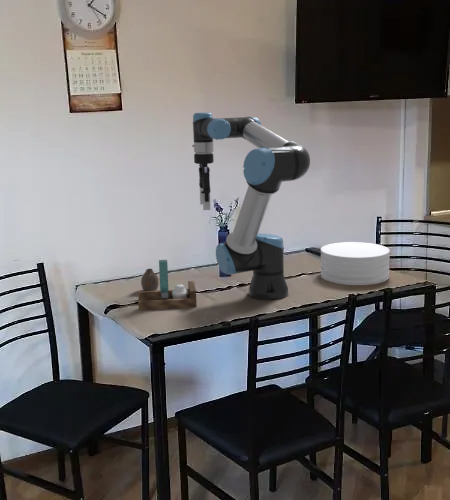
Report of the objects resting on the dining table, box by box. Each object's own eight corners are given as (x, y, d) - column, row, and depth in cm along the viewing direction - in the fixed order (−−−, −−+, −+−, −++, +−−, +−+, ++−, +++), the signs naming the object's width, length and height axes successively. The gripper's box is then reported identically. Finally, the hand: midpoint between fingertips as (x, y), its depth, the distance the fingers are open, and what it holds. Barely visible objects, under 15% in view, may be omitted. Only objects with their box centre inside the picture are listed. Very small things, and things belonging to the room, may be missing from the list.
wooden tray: (193, 296, 265) (193, 281, 264) (196, 306, 252) (196, 290, 251) (138, 299, 263) (137, 283, 262) (138, 310, 250) (137, 294, 248)
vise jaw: (168, 298, 262) (166, 257, 259) (169, 306, 253) (167, 263, 249) (160, 298, 262) (158, 257, 258) (161, 306, 253) (159, 264, 249)
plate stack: (401, 282, 279) (402, 254, 276) (336, 288, 272) (336, 259, 270) (370, 265, 305) (371, 240, 303) (310, 270, 299) (311, 244, 296)
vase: (145, 294, 269) (144, 272, 267) (139, 290, 275) (137, 268, 273) (161, 291, 272) (160, 270, 270) (155, 287, 278) (154, 266, 276)
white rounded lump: (184, 305, 254) (183, 287, 253) (169, 303, 256) (168, 285, 255) (191, 300, 260) (190, 282, 258) (176, 299, 262) (176, 281, 260)
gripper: (191, 150, 281) (193, 202, 285) (196, 156, 256) (198, 212, 261) (210, 150, 281) (211, 201, 286) (216, 155, 257) (218, 211, 262)
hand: (205, 207), depth 274 cm, fingers open, 13 cm apart
